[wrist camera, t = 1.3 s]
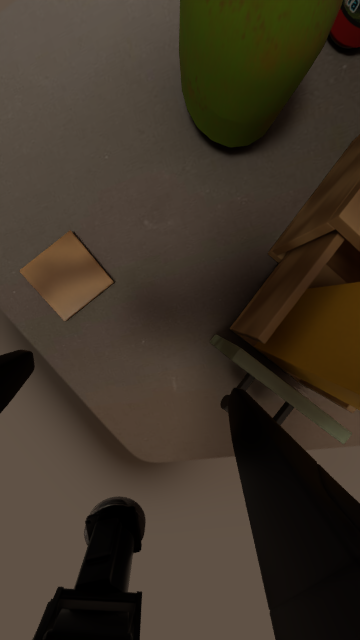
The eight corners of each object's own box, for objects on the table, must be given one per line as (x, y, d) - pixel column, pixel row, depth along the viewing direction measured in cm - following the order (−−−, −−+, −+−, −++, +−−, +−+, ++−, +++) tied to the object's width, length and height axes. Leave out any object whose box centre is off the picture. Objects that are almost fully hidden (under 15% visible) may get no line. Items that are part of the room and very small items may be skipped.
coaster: (114, 282, 20) (113, 282, 20) (66, 321, 20) (64, 321, 19) (72, 231, 19) (70, 230, 19) (21, 271, 19) (18, 270, 19)
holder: (283, 369, 20) (447, 457, 8) (253, 346, 20) (384, 406, 8) (325, 313, 20) (552, 324, 8) (297, 289, 20) (495, 263, 8)
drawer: (267, 427, 22) (313, 483, 15) (187, 370, 20) (198, 403, 14) (365, 300, 21) (458, 298, 15) (290, 234, 20) (355, 196, 13)
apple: (157, 118, 19) (146, -131, 8) (212, 32, 19) (275, -342, 8) (239, 182, 20) (323, 38, 9) (291, 102, 20) (440, -141, 9)
